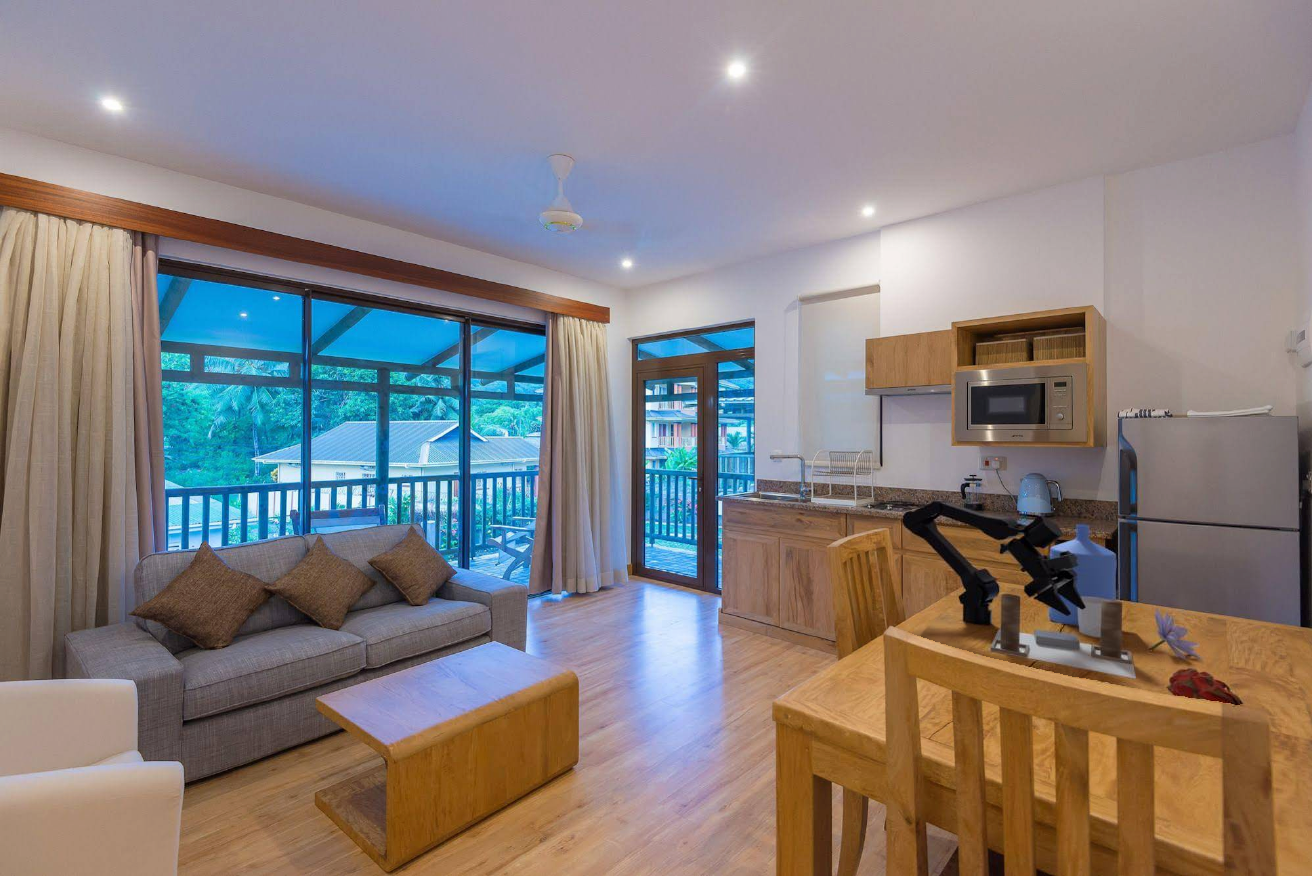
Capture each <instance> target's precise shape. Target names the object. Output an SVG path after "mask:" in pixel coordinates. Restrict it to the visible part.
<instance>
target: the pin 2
mask: <svg viewBox="0 0 1312 876" xmlns="http://www.w3.org/2000/svg"><path fill="white" fill-rule="evenodd" d="M1122 625H1123V602H1122V601H1120V600H1117V599H1115V600H1111V599H1102V600H1101V638H1100V641H1099V642H1100V644H1099V645H1100V654H1101V655H1103V656H1109V657H1114V658H1121V650H1122V641H1123V640H1122V636H1123V635H1122V632H1123V631H1122V630H1123V629H1122V628H1123V626H1122Z"/></svg>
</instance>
